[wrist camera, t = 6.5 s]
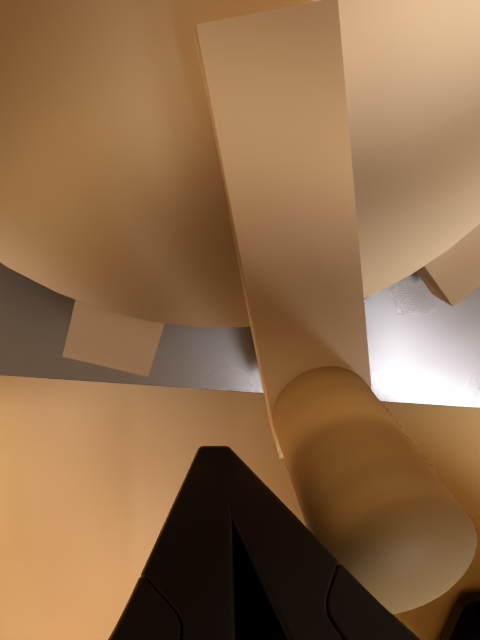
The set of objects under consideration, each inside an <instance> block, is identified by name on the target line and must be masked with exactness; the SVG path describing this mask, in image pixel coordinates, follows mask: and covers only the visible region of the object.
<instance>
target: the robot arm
mask: <svg viewBox="0 0 480 640" xmlns="http://www.w3.org/2000/svg"><path fill="white" fill-rule="evenodd" d="M108 640H421V639H419V638H418V637H417V636H416V635H415V634H414V633H413V632H411V631H410V630H409V629H408V628H407V627H406V626H405V625H404V624H403V623H402V622H400V621H399V620H398V619H397V618H396V617H395V616H394V615H393V614H392V613H390V612H389V611H388V610H387V609H386V608H385V607H384V606H383V605H382V604H381V603H380V602H379V601H378V600H377V599H376V598H375V597H374V596H373V595H372V594H371V593H370V592H369V591H368V590H367V589H366V588H365V587H364V586H363V585H362V584H361V583H359V582H358V581H357V580H356V578H355V577H354V576H353V575H352V574H351V573H350V572H349V571H348V570H347V569H346V568H345V567H344V566H343V565H342V564H339V565H338V560H337V559H336V558H335V557H334V556H333V555H332V554H331V553H330V552H329V551H328V550H327V548H326V547H325V546H324V545H323V544H322V543H321V542H320V541H319V540H318V539H317V538H316V537H315V536H314V535H313V534H312V533H311V532H310V531H309V530H308V529H307V528H306V527H305V526H304V524H303V523H302V522H301V521H300V520H299V519H298V518H297V517H296V516H295V515H294V514H293V513H292V512H291V511H290V510H289V509H288V508H287V507H286V506H285V505H284V504H283V503H282V502H281V500H280V499H279V498H278V497H277V496H276V495H275V494H274V493H273V492H272V491H271V490H270V489H269V488H268V487H267V486H266V485H265V484H264V483H263V482H262V481H261V480H260V479H259V478H258V477H257V475H256V474H255V473H254V472H253V471H252V470H251V469H250V468H249V467H248V466H247V465H246V464H245V463H244V462H243V461H242V460H241V459H240V458H239V457H238V456H237V455H236V454H235V453H234V451H233V450H232V449H231V448H230V447H228V446H202V447H200V448H199V449H198V451H197V453H196V455H195V457H194V459H193V462H192V464H191V466H190V468H189V470H188V473H187V475H186V477H185V479H184V481H183V484H182V486H181V488H180V490H179V492H178V494H177V497H176V499H175V501H174V503H173V505H172V508H171V510H170V512H169V514H168V516H167V518H166V521H165V523H164V525H163V527H162V529H161V532H160V534H159V536H158V538H157V540H156V543H155V545H154V547H153V549H152V551H151V553H150V556H149V558H148V560H147V562H146V564H145V567H144V569H143V571H142V573H141V577H140V578H139V579H138V581H137V583H136V586H135V588H134V590H133V592H132V594H131V596H130V599H129V601H128V603H127V605H126V607H125V609H124V611H123V613H122V615H121V617H120V619H119V621H118V622H117V624H116V626H115V628H114V630H113V632H112V634H111V635H110V637H109V639H108ZM440 640H480V592H471V593H466V594H464V595H462V596H461V597H460V598H459V599H458V600H457V602H456V604H455V606H454V609H453V611H452V613H451V615H450V618H449V620H448V622H447V625H446V627H445V629H444V631H443V634H442V636H441V638H440Z"/></svg>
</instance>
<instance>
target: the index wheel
mask: <svg viewBox="0 0 480 640" xmlns="http://www.w3.org/2000/svg"><path fill="white" fill-rule="evenodd" d="M0 262H1V263H2V264H4V265H5V266H7V267H8V268H10V269H12V270H14V271H16V272H18V273H20V274H22V275H24V276H26V277H28V278H29V279H31V280H33V281H35V282H37V283H39V284H41V285H43V286H45V287H47V288H49V289H51V290H53V291H55V292H57V293H60V294H62V295H65V296H68V297H70V298H73V299H76V301H75V305H74V309H73V313H72V317H71V322H70V326H69V330H68V334H67V339H66V343H65V347H64V351H63V356H62V357H66V358H71V359H75V360H79V361H83V362H88V363H92V364H96V365H100V366H104V367H109V368H113V369H117V370H121V371H126V372H130V373H134V374H138V375H142V376H147V377H148V376H149V373H150V369H151V366H152V363H153V360H154V356H155V353H156V350H157V347H158V344H159V340H160V337H161V334H162V331H163V327H164V324H165V323H166V324H174V325H182V326H191V327H249V326H251V331H252V336H253V342H254V347H255V352H256V357H257V362H258V367H259V372H260V377H261V382H262V388H263V393H264V398H265V403H266V408H267V413H268V418H269V423H270V428H271V433H272V437H273V440H274V443H275V446H276V449H277V452H278V455H279V458H284V460H285V463H286V466H287V469H288V472H289V475H290V478H291V481H292V484H293V486H294V489H295V492H296V495H297V498H298V501H299V504H300V507H301V510H302V513H303V516H304V519H305V522H306V525H307V528H308V530H309V531H310V532H311V533H312V534H313V535H314V536H315V537H316V538H317V539H318V540H319V541H320V542H321V543H322V544H323V545H324V546H325V547H326V548H327V550H328V551H329V552H330V553H331V554H332V555H333V556H334V557H335V558H336V559H337V560H338V565H339V564H342V565H343V566H344V567H345V568H346V569H347V570H348V571H349V572H350V573H351V574H352V575H353V576H354V577H355V578H356V580H357V581H358V582H359V583H361V584H362V585H363V586H364V587H365V588H366V589H367V590H368V591H369V592H370V593H371V594H372V595H373V596H374V597H375V598H376V599H377V600H378V601H379V602H380V603H381V604H382V605H383V606H384V607H385V608H386V609H387V610H388V611H389V612H390V613H392V614H397V613H402V612H406V611H409V610H413V609H415V608H418V607H421V606H423V605H425V604H427V603H429V602H431V601H433V600H435V599H436V598H438V597H440V596H441V595H442V594H444V593H445V592H447V591H448V590H449V589H450V588H451V587H453V586H454V585H455V584H456V583H457V582H458V581H459V580H460V579H461V577H462V576H463V575H464V574H465V572H466V571H467V569H468V568H469V566H470V564H471V562H472V560H473V558H474V555H475V552H476V548H477V531H476V527H475V524H474V522H473V520H472V519H471V517H470V515H469V514H468V513H467V512H466V510H465V509H464V508H463V506H462V505H461V504H460V503H459V501H458V500H457V499H456V497H455V496H454V495H453V494H452V492H451V491H450V490H449V488H448V487H447V486H446V485H445V483H444V482H443V481H442V479H441V478H440V477H439V476H438V474H437V473H436V472H435V471H434V469H433V468H432V467H431V465H430V464H429V463H428V462H427V460H426V459H425V458H424V456H423V455H422V454H421V453H420V451H419V450H418V449H417V447H416V446H415V445H414V444H413V442H412V441H411V440H410V439H409V437H408V436H407V435H406V433H405V432H404V431H403V430H402V428H401V427H400V426H399V424H398V423H397V422H396V421H395V419H394V418H393V417H392V415H391V414H390V413H389V412H388V410H387V409H386V408H385V406H384V405H383V404H382V403H381V401H380V400H379V399H378V398H377V396H376V395H375V394H374V392H373V391H372V387H371V375H370V364H369V352H368V341H367V329H366V318H365V306H364V298H366V297H368V296H371V295H373V294H375V293H377V292H379V291H380V290H382V289H384V288H386V287H388V286H390V285H392V284H394V283H396V282H398V281H400V280H402V279H404V278H406V277H407V276H409V275H411V274H413V273H414V272H417V274H418V275H419V277H420V278H421V279H422V281H423V282H424V283H425V285H426V286H427V288H428V289H429V290H430V292H431V293H432V294H433V295H434V296H436V297H438V298H439V299H441V300H443V301H444V302H446V303H448V304H449V305H451V306H453V307H454V306H455V305H456V304H458V303H459V302H460V301H461V300H463V299H464V298H465V297H466V296H468V295H469V294H470V293H472V292H473V291H474V290H475V289H477V288H478V287H479V286H480V0H0Z"/></svg>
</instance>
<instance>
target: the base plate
mask: <svg viewBox="0 0 480 640" xmlns="http://www.w3.org/2000/svg"><path fill="white" fill-rule="evenodd" d="M75 301H76V299H73V298H70V297H68V296H65V295H62V294H60V293H57V292H55V291H53V290H51V289H49V288H47V287H45V286H43V285H41V284H39V283H37V282H35V281H33V280H31V279H29V278H28V277H26V276H24V275H22V274H20V273H18V272H16V271H14V270H12V269H10V268H8V267H7V266H5V265H4V264H2V263H1V262H0V375H7V376H22V377H37V378H51V379H66V380H81V381H95V382H110V383H125V384H139V385H154V386H169V387H184V388H198V389H213V390H228V391H242V392H257V393H263V388H262V382H261V377H260V372H259V367H258V362H257V357H256V352H255V347H254V342H253V336H252V331H251V326H249V327H191V326H182V325H174V324H166V323H165V324H164V327H163V331H162V334H161V337H160V340H159V344H158V347H157V350H156V353H155V356H154V360H153V363H152V366H151V369H150V373H149V376H148V377H147V376H142V375H138V374H134V373H130V372H126V371H121V370H117V369H113V368H109V367H104V366H100V365H96V364H92V363H88V362H83V361H79V360H75V359H71V358H66V357H62V356H63V351H64V347H65V343H66V339H67V334H68V330H69V326H70V322H71V317H72V313H73V309H74V305H75ZM364 306H365V318H366V329H367V341H368V352H369V364H370V375H371V387H372V391H373V392H374V394H375V395H376V396H377V398H378V399H379V400H380V401H390V402H404V403H419V404H434V405H448V406H463V407H478V408H480V286H479V287H478V288H477V289H475V290H474V291H473V292H472V293H470V294H469V295H468V296H466V297H465V298H464V299H463V300H461V301H460V302H459V303H458V304H456V305H455V306H454V307H453V306H451V305H449V304H448V303H446V302H444V301H443V300H441V299H439V298H438V297H436V296H434V295H433V294H432V293H431V292H430V290H429V289H428V288H427V286H426V285H425V283H424V282H423V281H422V279H421V278H420V277H419V275H418V274H417V272H414V273H413V274H411V275H409V276H407V277H406V278H404V279H402V280H400V281H398V282H396V283H394V284H392V285H390V286H388V287H386V288H384V289H382V290H380V291H379V292H377V293H375V294H373V295H371V296H368V297H366V298H364Z"/></svg>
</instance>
